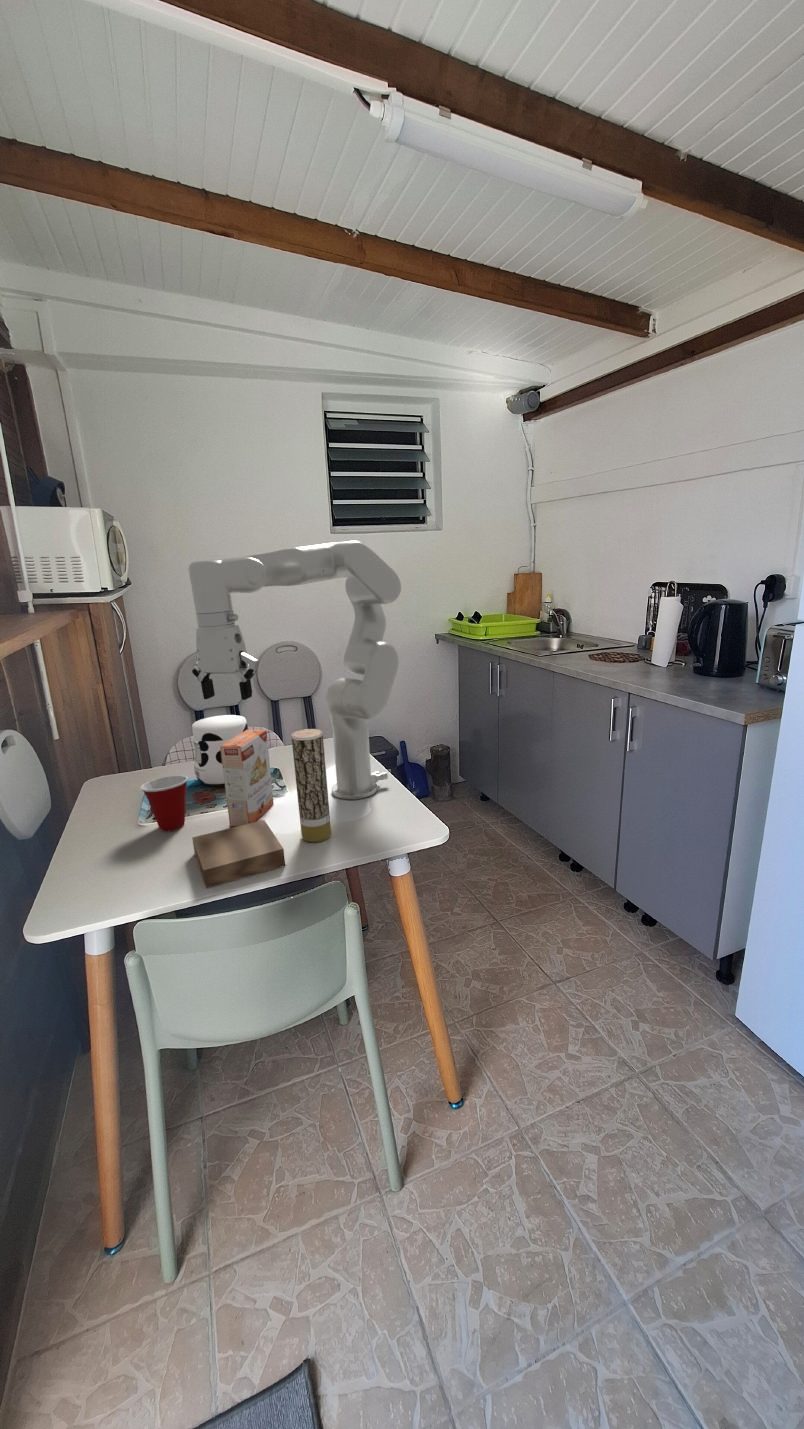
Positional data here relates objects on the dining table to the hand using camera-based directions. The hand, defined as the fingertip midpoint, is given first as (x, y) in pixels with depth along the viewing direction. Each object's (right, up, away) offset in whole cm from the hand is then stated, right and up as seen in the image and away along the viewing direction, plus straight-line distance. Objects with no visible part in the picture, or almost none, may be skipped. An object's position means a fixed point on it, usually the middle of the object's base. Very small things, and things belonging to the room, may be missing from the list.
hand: (228, 698), depth 123 cm
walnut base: (+3, -35, -3) cm, 35 cm away
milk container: (-14, -23, +44) cm, 52 cm away
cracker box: (+1, -29, +19) cm, 35 cm away
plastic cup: (-18, -31, +15) cm, 39 cm away
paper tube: (+19, -32, +6) cm, 38 cm away
